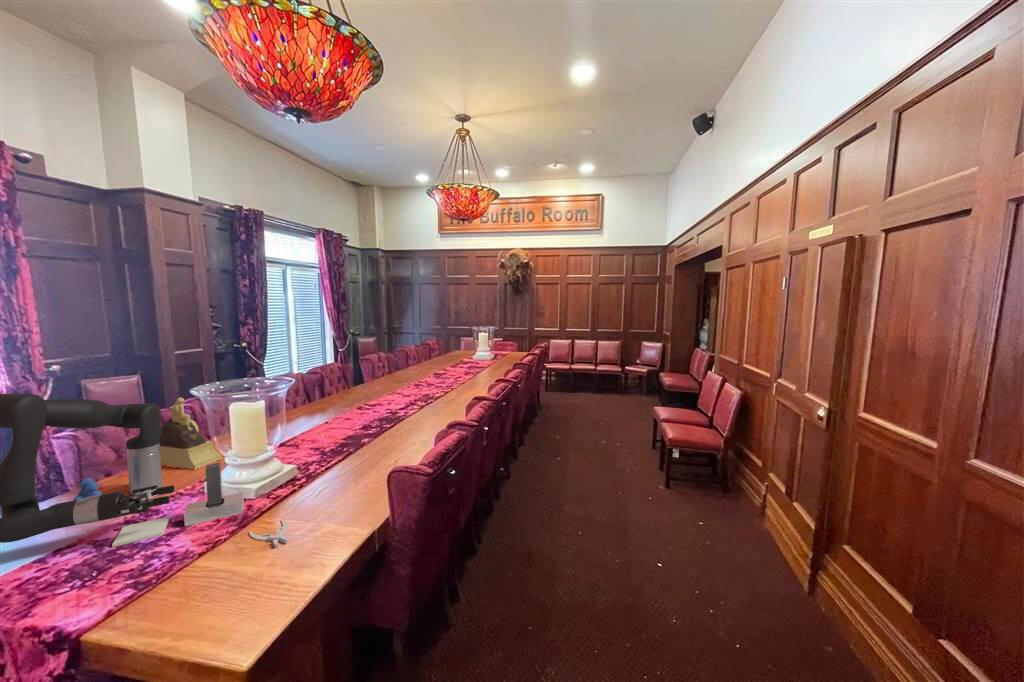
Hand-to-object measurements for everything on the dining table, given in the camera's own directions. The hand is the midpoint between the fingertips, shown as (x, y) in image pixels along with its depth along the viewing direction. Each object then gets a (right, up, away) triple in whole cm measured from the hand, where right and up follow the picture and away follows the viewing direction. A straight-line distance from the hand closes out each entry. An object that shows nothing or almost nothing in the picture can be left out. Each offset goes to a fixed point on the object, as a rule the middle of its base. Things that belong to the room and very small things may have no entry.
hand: (171, 493), depth 123 cm
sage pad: (-5, -10, -4) cm, 12 cm away
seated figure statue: (-39, -6, +51) cm, 65 cm away
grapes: (-34, -9, +6) cm, 36 cm away
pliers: (+36, -11, -5) cm, 38 cm away
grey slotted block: (+9, -10, +7) cm, 15 cm away
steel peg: (+9, -10, +7) cm, 15 cm away
